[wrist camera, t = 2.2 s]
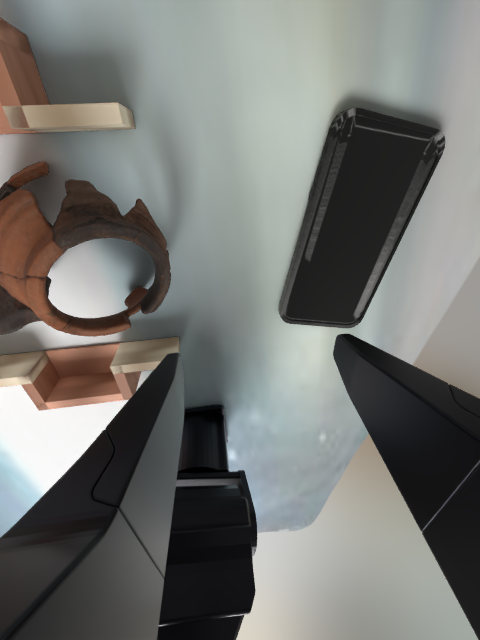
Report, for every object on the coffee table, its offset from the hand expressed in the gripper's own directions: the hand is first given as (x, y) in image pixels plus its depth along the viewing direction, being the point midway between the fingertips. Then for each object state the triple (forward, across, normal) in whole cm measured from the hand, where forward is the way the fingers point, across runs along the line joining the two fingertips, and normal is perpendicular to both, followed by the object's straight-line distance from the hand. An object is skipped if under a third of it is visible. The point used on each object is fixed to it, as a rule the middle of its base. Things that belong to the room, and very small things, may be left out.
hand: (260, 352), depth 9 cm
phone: (+13, -9, 0) cm, 15 cm away
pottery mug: (+12, +10, -1) cm, 16 cm away
